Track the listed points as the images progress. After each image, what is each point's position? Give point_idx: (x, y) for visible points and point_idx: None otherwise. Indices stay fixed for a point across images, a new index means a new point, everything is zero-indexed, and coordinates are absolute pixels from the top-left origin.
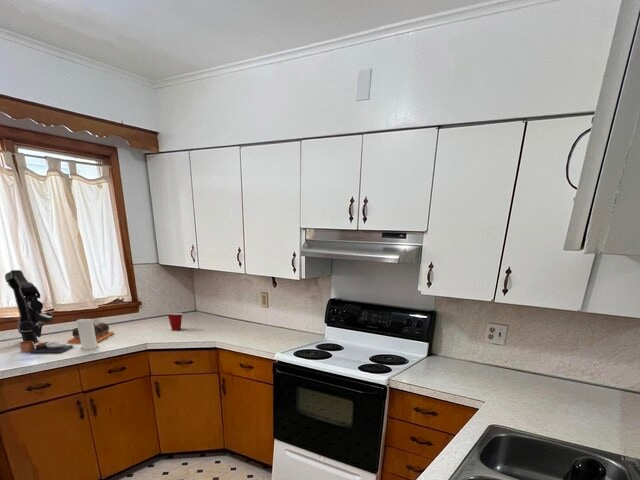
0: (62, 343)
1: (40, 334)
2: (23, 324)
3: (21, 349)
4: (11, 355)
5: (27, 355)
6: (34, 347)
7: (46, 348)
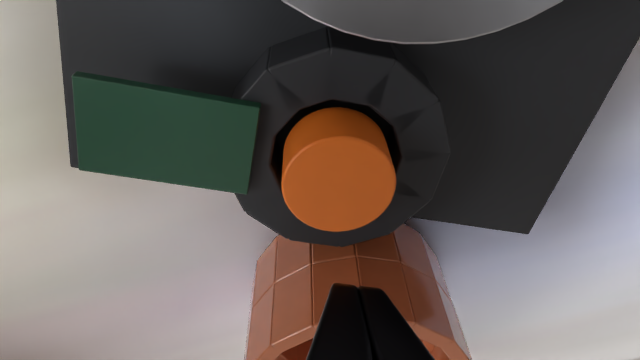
0: None
1: (355, 342)
2: None
3: None
4: (541, 356)
5: (632, 210)
6: None
7: None
